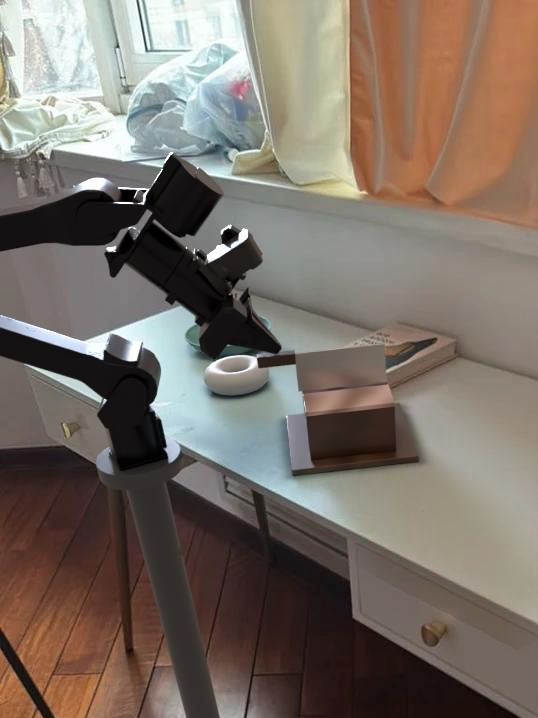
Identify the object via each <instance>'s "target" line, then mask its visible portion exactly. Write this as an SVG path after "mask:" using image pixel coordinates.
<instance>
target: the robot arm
mask: <svg viewBox="0 0 538 718" xmlns="http://www.w3.org/2000/svg"><path fill="white" fill-rule="evenodd" d="M224 196H225V192H224V190H223V189H222V188H221V186H220V185H219V184H218V183H217V181H216V180H214V178H213V177H211V176H210V175H209V174H208V173H206V171H205V170H203V169H202V168H201V167H200V166H198V167H197V166H195V165H194V164H193V163H191V162H189V161H188V160H186V159H183V158H182V157H180V156H179V155H178V154H176V152H174V151H172V152H170V153H169V154H168V156H167V157H166V159H165V161H164V163H163V165H162V169H161V171H159V174H158V175H157V176H156V178H155V179H154V181H153V182H152V184H151V185H150V187H149V188H137V187H135V188H134V187H118V186H117V185H116V184H114V183H113V182H111V181H110V180H109V179H107V178H104V177H93V178H90V179H87V180H84V181H82V182H80V183H77V184H74V185H73V186H70V187H67V188H65V189H63V190H61V191H59V192H58V193H55V194H53V195H51V196H49V197H47V198H45V199H42V200H40V201H37V202H32V203H28V204H26V203H25V204H21V205H17V206H12V207H5V208H0V252H5V251H11V250H16V249H20V248H26V247H31V246H32V247H33V246H36V245H37V246H38V245H43V244H57V245H65V246H70V247H100V246H106V245H108V244H110V243H112V242H114V241H115V240H116V239H117V237H118V236H119V233H120V232H121V230H122V231H123V230H124V229H127V230H126V232H124V235H123V236H122V238H121V239H120V240H119V242H118V243H117V245H116V246H112V247H109V246H108V247H106V249H105V251H104V253H103V255H104V257H105V259H106V262H107V265H108V272H109V277H110V278H113V279H115V278H116V277H117V276H118V275H119V273H120V272H121V270H122V269H123V267H124V266H127V267H128V268H129V269H131V270H132V271H134V272H135V273H136V274H138V276H140V277H141V278H142V279H144V280H146V281H147V282H148V283H150V284H151V285H153V287H154V288H156V289H158V290H159V292H161V293H162V294H164V295H165V298H164V301H165V302H166V303H168V304H169V305H170V306H173V305H174V304H175V303H176V304H178V305H179V306H180V307H181V308H183V309H184V310H186V311H187V312H188V313H190V314H191V315H193V316H194V324H198V325H199V326H200V327H201V328H200V332H199V344H200V349H201V351H202V352H203V353H205V354H204V355H206V356H208V357H209V358H210V359H211V360H213V361H216V360H218V358H219V357H220V356H219V355H220V354H221V353H222V351H223V350H224V349H225V347H226V346H227V345H232V346H238V347H244V348H249V349H253V351H254V350H255V351H260V352H263V353H273V354H278V353H279V352H280V351H282V344H281V343H280V342H279V340H278V339H277V337H276V336H275V335H274V333H273V332H272V331H271V329H270V330H269V329H268V328H267V326H266V325H265V324H264V323H263V321H262V320H261V319H260V318H259V316H260V315H259V314H258V313H257V312H256V311H255V310H254V308H253V305H252V304H253V303H252V295H251V289H250V287H246V289H245V290H244V291H243V292H242V294H239V293H237V292H235V293H233V290H234V288H235V287H236V286H237V284H238V283H239V281H240V280H241V281H244V280H245V279H246V278H247V272H249V271H250V270H252V271H253V270H256V269H257V268H259V266H261V265H262V263H263V261H264V259H263V252H262V251H261V249H260V247H259V246H258V244H257V243H256V241H255V239H254V235H253V234H252V233H251V232H250V230H249V229H246V228H245V227H244V228H243V229H242V230H240V229H239V228H237V227H236V226H234V225H233V224H229V225H228V226H226V227H225V228H223V229H221V231H220V239H221V245H220V244H218V245H217V246H216V248H215V249H214V250H213V251H211V252H209V253H206V252H204V251H203V250H202V249H201V248H198V249H197V248H194V249H192V250H191V249H190V248H188V247H187V246H186V245H184V244H183V243H182V242H181V241H180V240H178V239H177V238H179V239H182V238H186V236H187V235H188V236H191V237H196V235H197V234H198V232H199V231H200V230H201V228H202V227H203V226H204V224H205V223H206V221H207V219H208V218H209V217H210V215H211V214H212V213H213V211H215V208H216V207H217V205H218V204H219V203H220V201H221V200H222V199H223V197H224ZM147 211H149V212H150V213H149V215H148V216H147V217H146V219H145V220H144V222H143V223H142V224H141V226H140V227H139V228H136V227H135V226H137V225H138V224H139V223H140V221H141V219H142V218H143V216H144V215H145V213H146V212H147ZM155 221H156V222H157V223H156V222H155ZM176 237H177V238H176ZM143 346H144V342H143V341H133V340H129V339H127V338H124V337H122V336H120V335H118V334H115V333H113V332H111V333H109V334H108V337H107V340H106V343H89V342H85V341H83V340H80V339H77V338H76V339H75V338H72V337H70V336H66V335H63V334H61V333H58V332H55V331H51V330H47V329H45V328H41V327H39V326H36V325H32V324H30V323H26V322H23V321H19V320H16V319H14V318H11V317H7V316H5V315H2V314H0V357H1V358H4V359H8V360H10V361H14V362H17V363H20V364H24V365H26V366H30V367H32V368H36V369H39V370H43V371H47V372H49V373H52V374H56V375H60V376H63V377H65V378H69V379H71V380H76V381H78V382H81V383H82V384H84V385H85V386H86V387H88V388H89V389H90V390H92V391H93V392H94V393H95V394H97V395H98V396H99V397H101V400H100V404H99V408H98V410H97V413H96V417H97V419H98V420H99V421H100V423H101V424H102V425H103V427H104V430H105V434H106V438H107V441H108V445H109V446H110V449H109V450H108V451H109V454H110V455H111V457H112V459H113V460H114V462H115V464H116V465H117V467H118V468H119V470H120V471H125V470H129V469H132V468H136V467H139V466H143V465H146V464H150V463H153V462H157V461H160V460H164V459H167V458H168V454H167V452H166V451H165V450H164V449H165V448H167V443H166V439H165V437H166V434H165V430H164V425H163V421H162V419H161V417H160V416H159V415H158V414H157V413H156V410H155V409H154V407H153V406H152V404H153V403H154V402H155V400H156V398H157V396H158V391H159V387H160V382H161V376H162V366H161V362H160V361H159V359H158V357H157V356H156V354H155V353H154V352H153V351H151V350H149V349H148V348H146V347H143ZM203 353H202V354H203ZM109 446H108V447H109Z"/></svg>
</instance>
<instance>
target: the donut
mask: <svg viewBox="0 0 538 718" xmlns="http://www.w3.org/2000/svg"><path fill="white" fill-rule="evenodd" d="M269 378H270V367H268V368H258V363H257V356H252V355H246V354H245V355H244V354H238V355H233V356H224V357H223V358H219V359H216V360H214V361H213V362H211V364H209V365H208V367H206V369H205V371H204V374H203V381H204V384H205V386H206V387H207V388H208V389H209V390H210V391H211V392H212V393H214V394H217V395H221V396H232V397H233V396H242V395H247V394H250V393H252V392H255V391H258V390H260V389H261V388H262V387H263V386H265V384H266V383H267V382H268V381H269Z"/></svg>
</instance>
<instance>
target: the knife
mask: <svg viewBox="0 0 538 718" xmlns="http://www.w3.org/2000/svg"><path fill="white" fill-rule="evenodd" d="M256 357H257V363H258V368H277V367H285V366H286V367H287V366H293V365H295V373H296V380H297V381H296V382H297V389H298V392H302V391H308V390H317V389H326V388H335V387H344V386H354V385H363V384H372V383H381V382H387V383H388V380H387V381H386V379H387V362H386V361H387V360H386V343H385V342H383V343H382V342H381V343H372V344H364V345H354V346H346V347H336V348H327V349H318V350H309V351H300V352H295V350H294V349H289V350H280V352H279V353H278V354H273V353H268V352H263V353H257V354H256Z"/></svg>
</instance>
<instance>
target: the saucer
mask: <svg viewBox="0 0 538 718" xmlns="http://www.w3.org/2000/svg"><path fill="white" fill-rule="evenodd" d="M258 316H259V318H260V319H261V320H262V321H263V323H264V324H265V325H266V326H267V328H268V329H269V330H270V331H271V329H272V325H273V324H272V321H270V320H269V319H267V318H266V317H264V316H260V315H258ZM200 328H201V327H200V326H199V325H198V324H196V323H194V324H192V325H191V326H190V327H189V328H188V329H187V330H186V331H185V332H184V335H183V336H184V337H183V338H184V340H185V341H186V342H187V343H188V344H189V345H190V346H191V347H192V348H194V349H195V350H196V351H198V352H200V353H201V354H203V355H206V354H205V353H203V352H202V351H201V349H200V344H199V332H200ZM250 351H254V349H249V348H244V347H238V346H232V345H227V346H226V347H225V349H224V350H223V351H222V353H221V354H220V355H219V356H218V357H230V356H238V355H243V354H246V353H248V352H250Z"/></svg>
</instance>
